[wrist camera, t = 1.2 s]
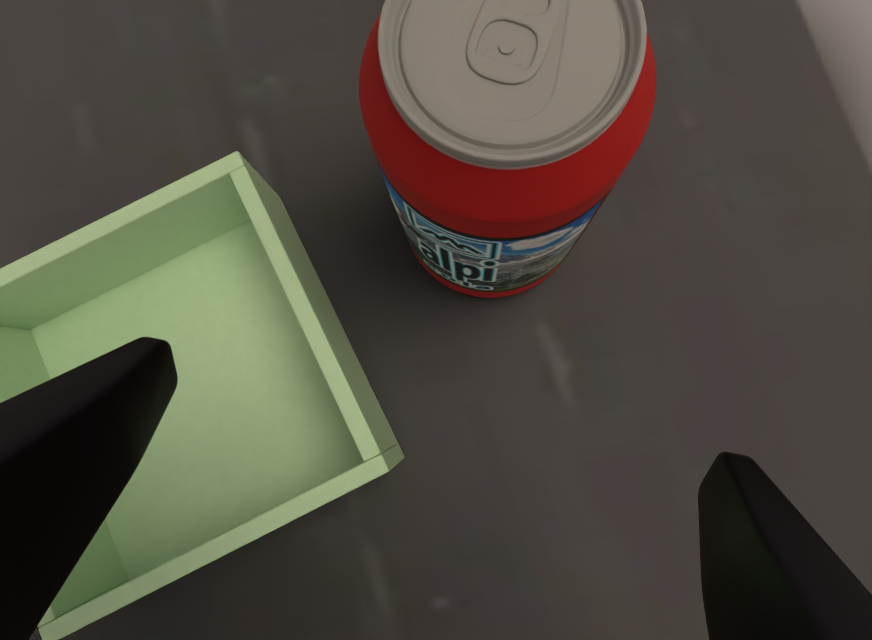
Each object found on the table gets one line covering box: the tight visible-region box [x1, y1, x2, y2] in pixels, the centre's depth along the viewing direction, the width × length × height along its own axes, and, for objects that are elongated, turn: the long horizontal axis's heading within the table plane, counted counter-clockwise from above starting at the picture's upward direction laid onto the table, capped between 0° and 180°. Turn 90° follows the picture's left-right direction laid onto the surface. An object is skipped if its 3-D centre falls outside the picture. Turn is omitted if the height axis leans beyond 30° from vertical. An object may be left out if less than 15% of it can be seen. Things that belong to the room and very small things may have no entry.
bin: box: [0, 151, 405, 640], centre depth 21 cm, size 12×12×4 cm
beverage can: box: [359, 0, 656, 298], centre depth 18 cm, size 7×7×12 cm
